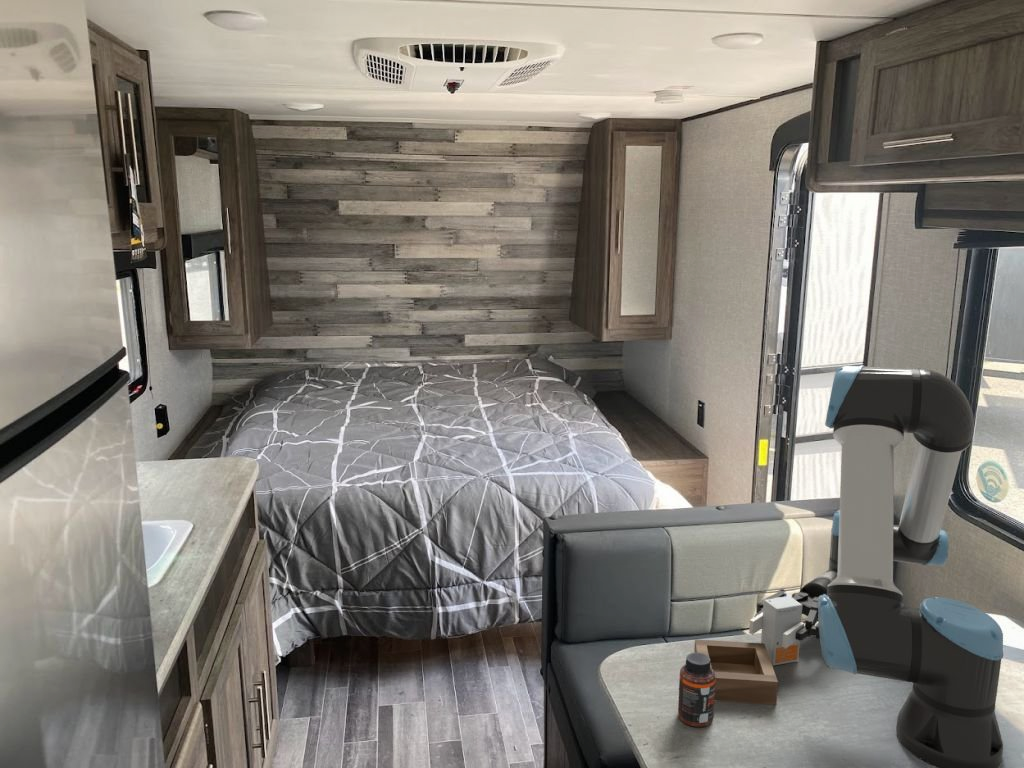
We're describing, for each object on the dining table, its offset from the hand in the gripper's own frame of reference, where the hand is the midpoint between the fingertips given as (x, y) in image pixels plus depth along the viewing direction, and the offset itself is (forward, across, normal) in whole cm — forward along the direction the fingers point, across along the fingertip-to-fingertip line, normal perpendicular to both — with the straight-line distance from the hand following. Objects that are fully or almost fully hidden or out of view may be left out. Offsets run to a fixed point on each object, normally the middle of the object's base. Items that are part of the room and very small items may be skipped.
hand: (767, 634), depth 148 cm
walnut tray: (+8, +2, -7) cm, 11 cm away
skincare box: (-5, 0, -7) cm, 9 cm away
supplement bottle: (+23, 0, -8) cm, 24 cm away
